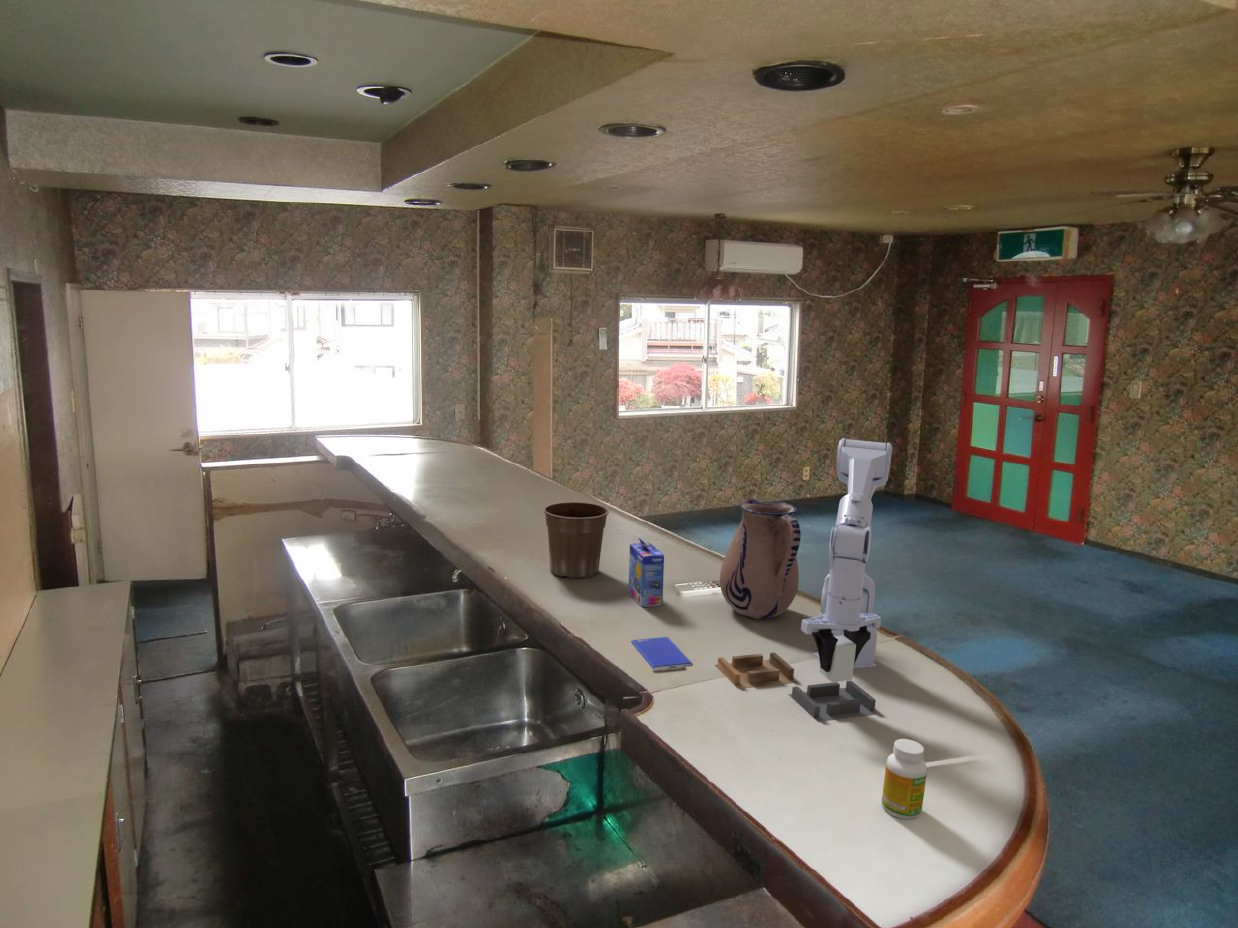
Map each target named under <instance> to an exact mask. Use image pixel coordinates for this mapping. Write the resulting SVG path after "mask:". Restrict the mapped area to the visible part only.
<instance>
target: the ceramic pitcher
mask: <svg viewBox="0 0 1238 928" xmlns="http://www.w3.org/2000/svg"><path fill="white" fill-rule="evenodd" d="M739 508H740V509H741V513H742V515H741V517H742V518H741V521H740V523H739V526H738V527H737V529H736V531H735V533H734V535H733V537H732V539H731V541H730V544H729V546H728V548H727V551H726V553H725V556H724V558H723V561H722V564H721V568H720V573H719V585H720V590H721V593H722V596H723V598H724V600H725V601H726V603H727V604H728V605H729V606H730V608H731V609H732V610H733V611H735V612H736V613H737V614H739V615H740V616H741V615H742V616H747V617H749V618H753V619H756V620H762V619H763V620H764V619H772V618H775V617H778V616H780V615H781V614H784V613H785V612H786V610H788V608H789V607H790V606H791V604H792V603H793V602H794V600H795V598H796V596H797V593H798V589H799V580H800V579H799V578H800V573H799V564H798V556H797V555H798V551H799V548H800V546H801V545H800V544H801V532H802V531H801V526H800V524H799V522H798V520H797V519H796V518H794V517H793V515H795V514H796V513H797V512H798V509H797V507H796V506H793V505H792V504H789V503H787V502H783V501H782V502H781V501H774V500H773V501H767V502H760V501H759V500H757V499H756V498H749V499H747V500H746V502H744V503H741V504H740V505H739Z"/></svg>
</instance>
